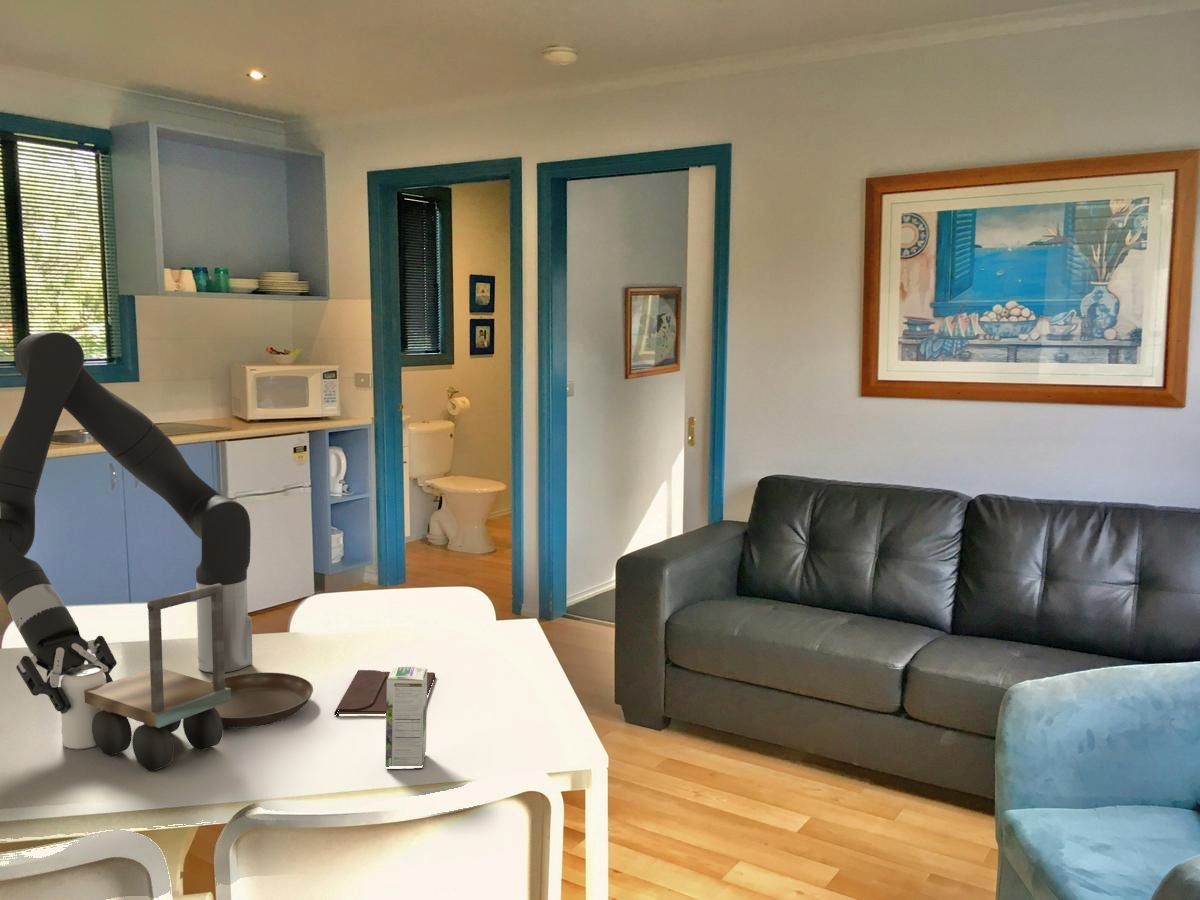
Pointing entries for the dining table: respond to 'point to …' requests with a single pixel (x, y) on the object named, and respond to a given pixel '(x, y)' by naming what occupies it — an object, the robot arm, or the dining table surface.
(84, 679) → the can
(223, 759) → the dining table surface
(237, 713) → the plant saucer
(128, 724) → the trolley
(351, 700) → the notebook
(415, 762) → the syrup box
